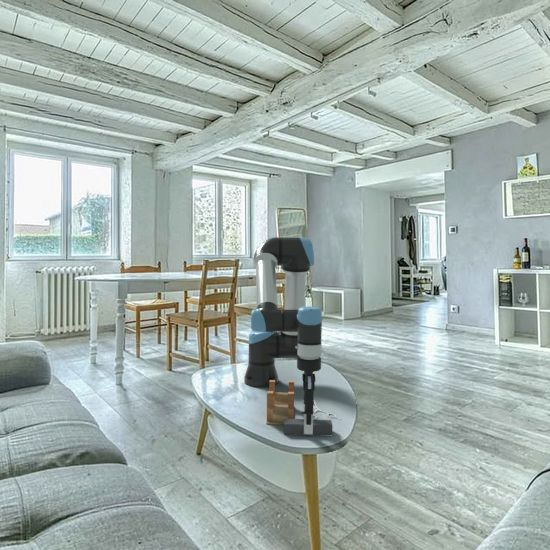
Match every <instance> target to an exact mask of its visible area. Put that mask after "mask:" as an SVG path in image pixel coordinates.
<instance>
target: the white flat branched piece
mask: <svg viewBox="0 0 550 550" xmlns="http://www.w3.org/2000/svg"><path fill="white" fill-rule="evenodd" d="M313 402H314V404H315V406H314V405H313V412H314V413H313V420H318V416H317V415H315V414H317V413H318V412H320V413H323V412H324V414H326V417H327V416H328V417H327V418H329V417H331V419H337V418H338V419H337V420H339V419H341V418H340V417H338V416H337V415H336V414H334V413H330V412H327V411H325V410H322V409H320V408H319V407H318V404H317V402H316V400H315V399H313ZM316 405H317V406H316ZM329 414H332V415H329ZM334 415H335V416H334Z"/></svg>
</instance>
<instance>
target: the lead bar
mask: <svg viewBox="0 0 550 550" xmlns="http://www.w3.org/2000/svg"><path fill="white" fill-rule="evenodd" d="M283 435H288V436H289V435H291V436H312V435H332V436H333V422H332V419H316V420H313V434H304V418H294V419H284V425H283Z"/></svg>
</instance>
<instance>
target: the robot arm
mask: <svg viewBox="0 0 550 550" xmlns="http://www.w3.org/2000/svg"><path fill="white" fill-rule="evenodd" d="M252 262H253V267H254V268H255V287H256V288H255V291H256V292H255V294H256V296H255V297H256V298H255V300H256V303H255V305H256V306H255V307H256V308H255V309H252V310H251V311H250V330H251V332H249V335H248V342H247V344H248V364H247V368H246V371H245V373H244V378H243V379H244V381H243V382H244V384H246V385H248V386H251V387H255V388H256V387H258V388H259V387H260V388H263V387H265V388H266V387H269V381H270V380H275V385H277V384H278V383H279V375H278V374H279V373H278V371H277V368H276V364H275V363H276V361H275V360H276V359H295V360H296V368H297V370H299V371H302V372H303V373H302V374H301V375H302V386H303V411H302V412H301V413H302V415H303V419H304V434H313V419H314V416H313V413H314V412H315V411H314V408H313V406H314V391H315V387H316V386H315V382H316V374H315V373H314V372H319V371H321V370H322V358H321V356H322V351H323V350H322V348H323V347H322V332H323V331H322V330H323V329H322V327H323V315H322V314H323V313H322V309H321V308H320V307H317V306H305V298H306V297H305V296H306V295H305V294H306V278H307V274H308V273H309V272H310V269H311V267H312V266H314V265H315V253H314V247H313V243H312V241H311V239H310V238H307V237H300V236H299V237H295V236H294V237H278V236H277V237H275V236H274V237H271V238H268V239H266V240H265V241H263V242H262V243H261V244H260V245H259V246H258V247H257V248H256V250H255V253H254V254H253V261H252ZM277 266H281V269H282V271H283V273H285V275H284V276H285V277H284V278H285V283H284V286H285V287H284V309H280V308H279V306H278V305H279V303H278V288H277V287H278V286H277V273H276V268H277Z"/></svg>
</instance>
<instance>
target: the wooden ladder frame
mask: <svg viewBox="0 0 550 550" xmlns="http://www.w3.org/2000/svg"><path fill="white" fill-rule="evenodd" d="M284 419H295V380H288V392H279V391H278V392H276V384H275V380H270V381H269V386H268V391H267V392H266V423H265V424H266V425H281V426H284Z"/></svg>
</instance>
